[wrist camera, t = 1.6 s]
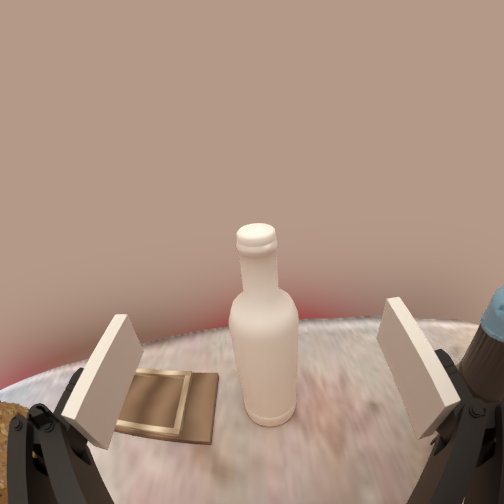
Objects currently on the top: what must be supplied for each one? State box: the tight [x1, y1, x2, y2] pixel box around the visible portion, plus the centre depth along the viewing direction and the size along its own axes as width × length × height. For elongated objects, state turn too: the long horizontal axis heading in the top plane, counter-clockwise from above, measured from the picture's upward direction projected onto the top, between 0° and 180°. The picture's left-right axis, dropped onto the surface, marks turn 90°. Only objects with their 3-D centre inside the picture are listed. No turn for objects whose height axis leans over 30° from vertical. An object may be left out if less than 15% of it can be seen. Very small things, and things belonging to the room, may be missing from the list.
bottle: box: [229, 223, 299, 427], centre depth 32 cm, size 8×8×30 cm
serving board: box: [114, 368, 219, 445], centre depth 39 cm, size 22×14×2 cm, turn 90°
